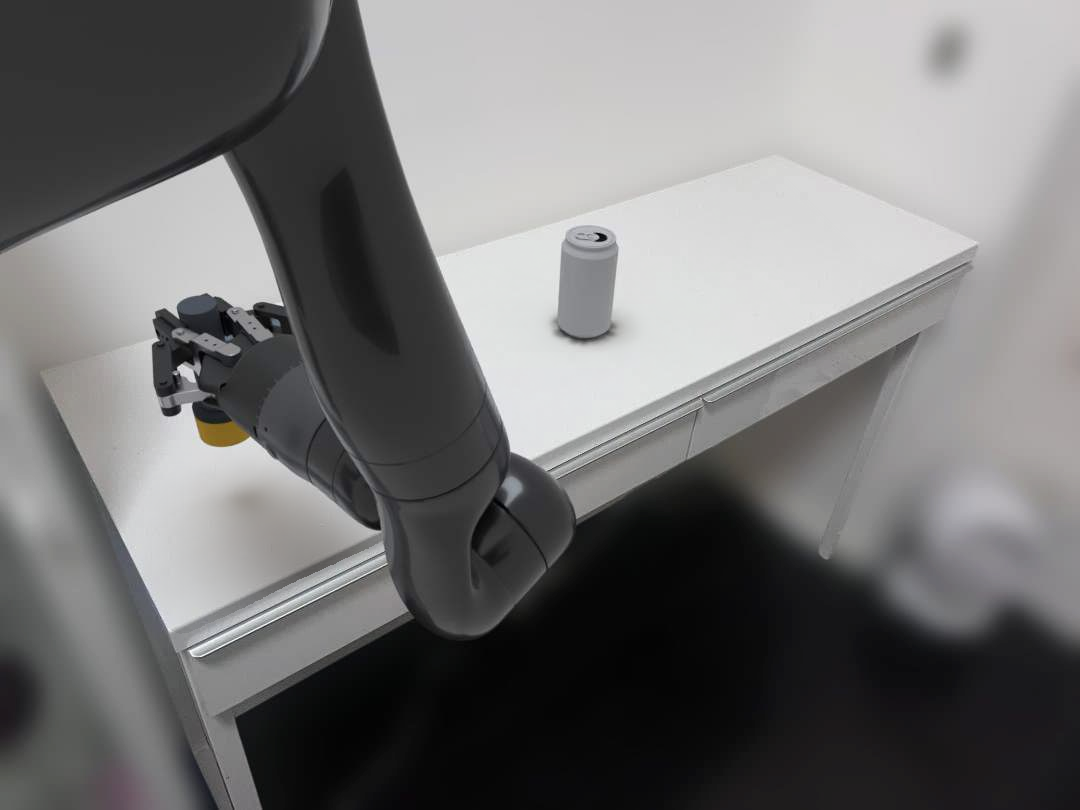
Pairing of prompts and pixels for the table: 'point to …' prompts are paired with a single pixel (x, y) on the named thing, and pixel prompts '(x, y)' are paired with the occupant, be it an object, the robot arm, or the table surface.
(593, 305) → the beverage can
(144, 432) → the table surface
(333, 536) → the table surface
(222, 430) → the sponge wand
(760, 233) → the table surface
